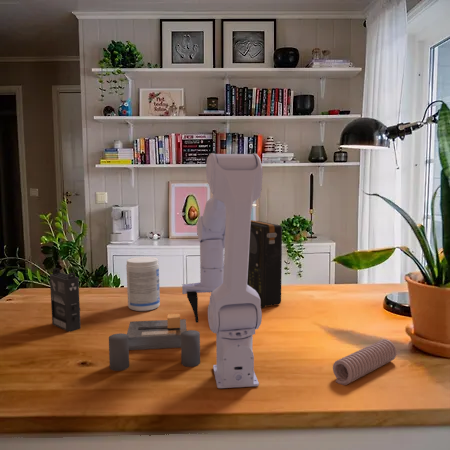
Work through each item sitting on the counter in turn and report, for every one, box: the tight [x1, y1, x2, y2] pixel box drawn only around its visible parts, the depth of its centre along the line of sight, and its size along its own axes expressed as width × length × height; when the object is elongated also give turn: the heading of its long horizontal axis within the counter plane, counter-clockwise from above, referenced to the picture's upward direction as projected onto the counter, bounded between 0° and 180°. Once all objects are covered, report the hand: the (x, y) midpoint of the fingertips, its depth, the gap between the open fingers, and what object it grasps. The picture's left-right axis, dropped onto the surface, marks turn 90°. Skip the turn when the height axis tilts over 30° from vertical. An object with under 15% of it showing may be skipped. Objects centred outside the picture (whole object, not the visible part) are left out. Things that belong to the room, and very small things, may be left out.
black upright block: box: [247, 219, 283, 309], centre depth 139 cm, size 16×9×25 cm, turn 25°
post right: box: [180, 329, 201, 368], centre depth 95 cm, size 4×4×6 cm
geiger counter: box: [49, 267, 82, 332], centre depth 117 cm, size 10×5×15 cm, turn 48°
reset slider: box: [166, 313, 181, 328], centre depth 108 cm, size 3×3×2 cm
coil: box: [332, 339, 397, 386], centre depth 91 cm, size 5×5×18 cm
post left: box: [108, 333, 130, 372], centre depth 93 cm, size 4×4×6 cm
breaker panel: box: [126, 318, 188, 351], centre depth 108 cm, size 11×14×3 cm
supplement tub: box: [125, 256, 161, 312], centre depth 133 cm, size 10×10×15 cm
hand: (212, 320), depth 109 cm, fingers open, 7 cm apart
